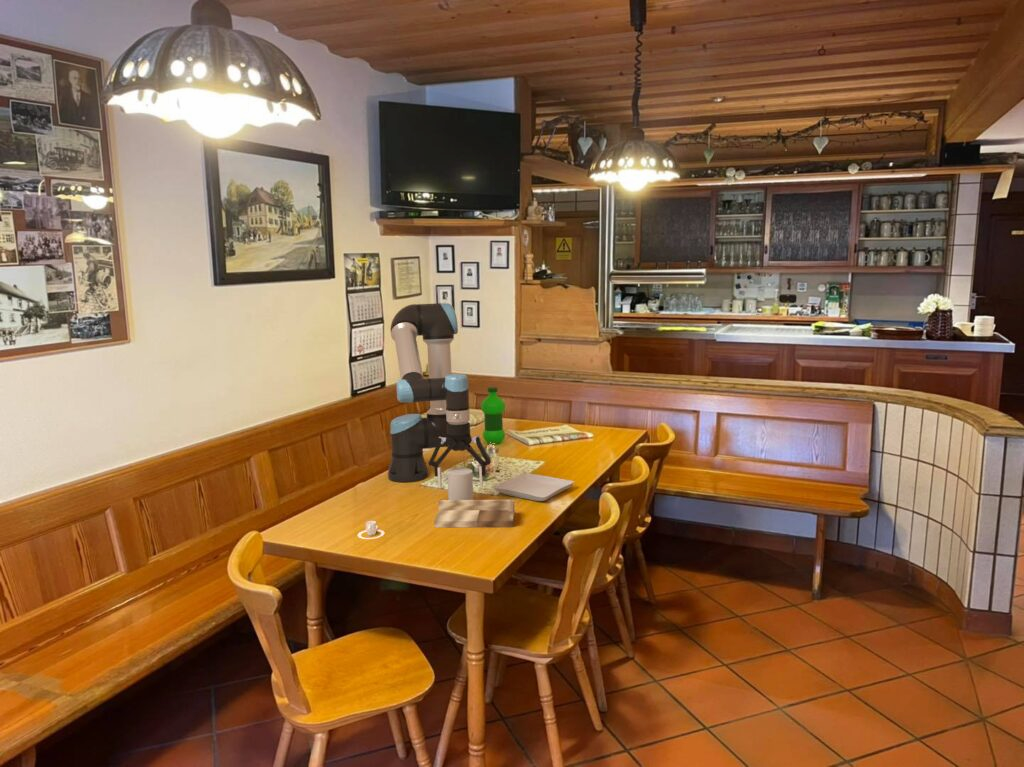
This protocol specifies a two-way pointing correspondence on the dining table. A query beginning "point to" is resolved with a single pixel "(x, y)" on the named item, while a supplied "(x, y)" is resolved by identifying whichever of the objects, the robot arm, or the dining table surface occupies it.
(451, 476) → the beige cylinder
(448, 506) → the rail board
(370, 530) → the white looped ring
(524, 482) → the salad plate
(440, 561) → the dining table surface
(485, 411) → the plastic bottle
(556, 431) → the dining table surface
